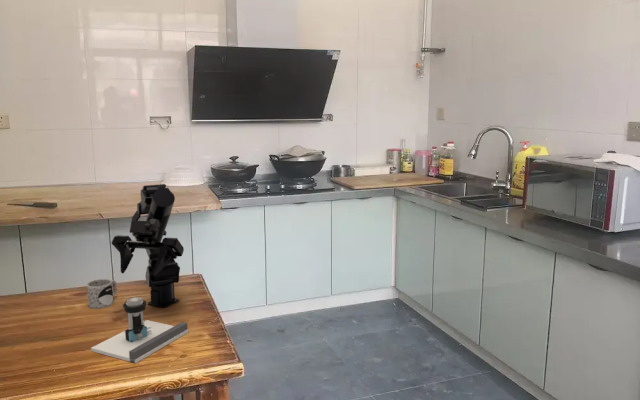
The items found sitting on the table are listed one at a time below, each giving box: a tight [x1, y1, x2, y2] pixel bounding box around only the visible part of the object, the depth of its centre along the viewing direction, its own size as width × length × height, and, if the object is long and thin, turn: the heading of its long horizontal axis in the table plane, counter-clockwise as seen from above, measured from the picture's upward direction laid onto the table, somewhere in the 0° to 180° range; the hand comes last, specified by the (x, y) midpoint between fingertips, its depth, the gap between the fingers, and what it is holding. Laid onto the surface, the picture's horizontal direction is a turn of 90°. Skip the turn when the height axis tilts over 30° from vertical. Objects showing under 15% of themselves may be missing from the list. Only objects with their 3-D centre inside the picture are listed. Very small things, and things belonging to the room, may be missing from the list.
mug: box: [86, 278, 118, 310], centre depth 151 cm, size 10×7×7 cm, turn 162°
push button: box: [122, 296, 152, 342], centre depth 125 cm, size 7×5×10 cm
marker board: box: [90, 319, 189, 364], centre depth 126 cm, size 18×14×2 cm
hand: (137, 273), depth 135 cm, fingers open, 9 cm apart
